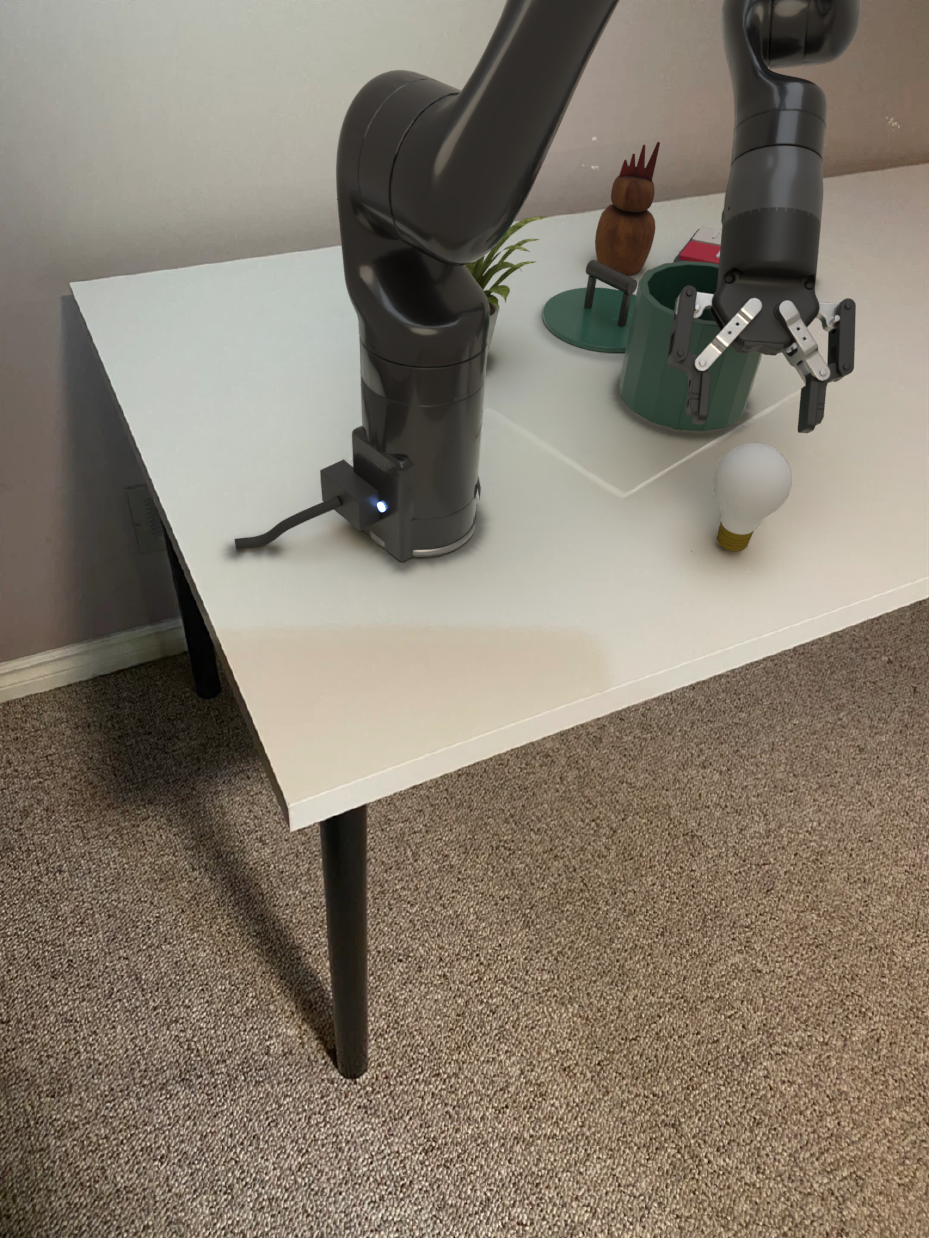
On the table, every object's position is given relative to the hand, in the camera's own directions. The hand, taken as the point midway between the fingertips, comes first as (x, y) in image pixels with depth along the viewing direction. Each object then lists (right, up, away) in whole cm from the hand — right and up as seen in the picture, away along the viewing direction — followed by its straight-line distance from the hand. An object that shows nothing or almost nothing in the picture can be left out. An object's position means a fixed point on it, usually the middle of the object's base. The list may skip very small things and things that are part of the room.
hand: (753, 427), depth 74 cm
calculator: (+11, +26, +39) cm, 48 cm away
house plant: (-22, +11, +23) cm, 34 cm away
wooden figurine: (-4, +27, +39) cm, 48 cm away
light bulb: (-1, -10, +4) cm, 10 cm away
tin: (-1, +7, +20) cm, 21 cm away
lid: (-8, +18, +29) cm, 35 cm away
